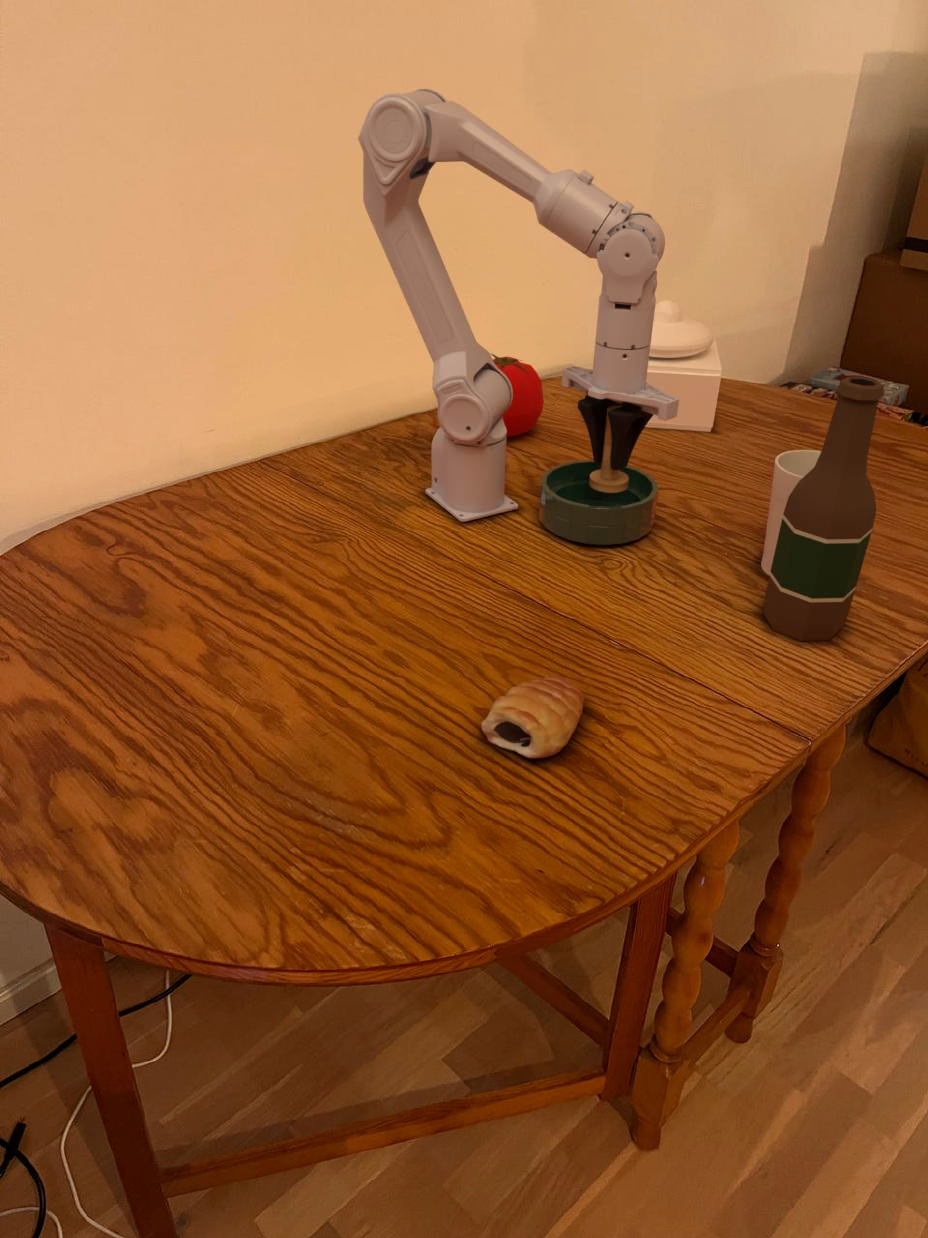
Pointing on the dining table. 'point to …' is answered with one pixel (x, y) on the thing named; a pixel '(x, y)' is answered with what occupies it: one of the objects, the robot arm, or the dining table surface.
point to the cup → (784, 494)
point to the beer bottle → (827, 524)
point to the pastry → (535, 717)
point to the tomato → (521, 395)
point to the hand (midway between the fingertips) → (610, 463)
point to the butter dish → (684, 368)
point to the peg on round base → (608, 467)
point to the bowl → (596, 505)
